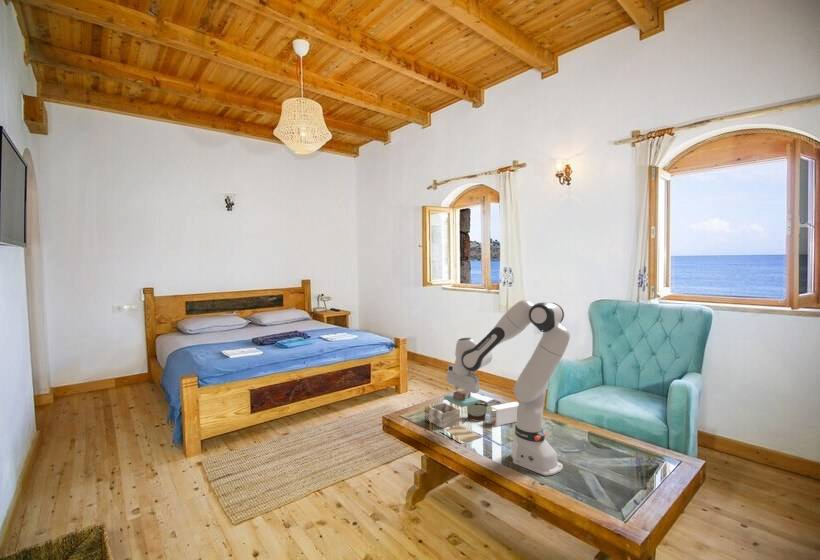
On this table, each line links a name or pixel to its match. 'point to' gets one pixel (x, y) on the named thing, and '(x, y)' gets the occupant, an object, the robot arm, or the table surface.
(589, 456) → the table surface
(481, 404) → the food container
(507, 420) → the cigarette display
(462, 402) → the lid
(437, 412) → the box
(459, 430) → the mat
